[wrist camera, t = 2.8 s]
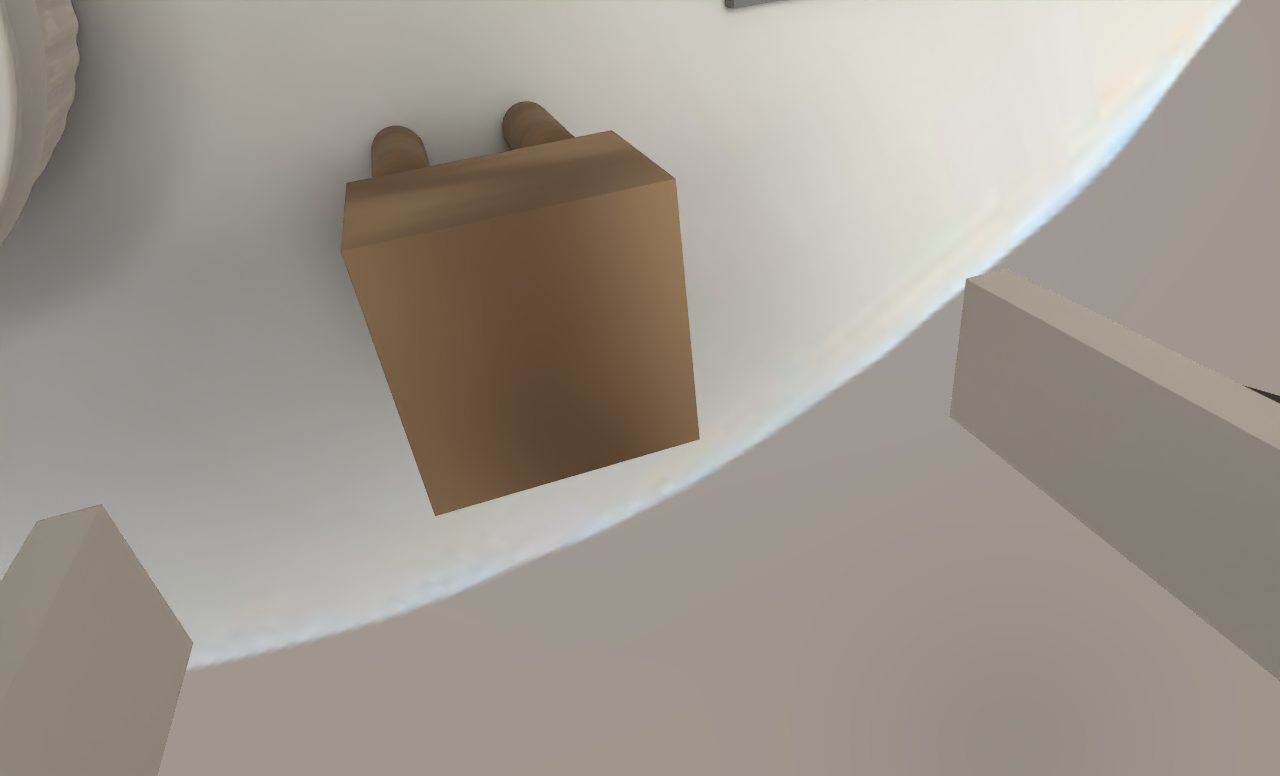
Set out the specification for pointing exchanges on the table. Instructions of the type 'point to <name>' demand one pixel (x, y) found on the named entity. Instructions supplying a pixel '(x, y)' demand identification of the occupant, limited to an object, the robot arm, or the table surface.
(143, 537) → the table surface
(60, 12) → the ramekin
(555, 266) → the stool
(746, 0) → the mat
